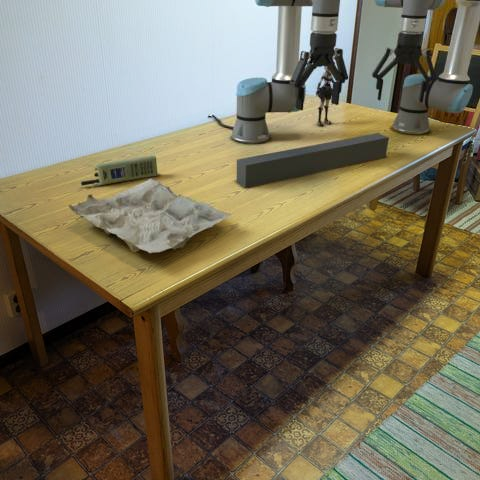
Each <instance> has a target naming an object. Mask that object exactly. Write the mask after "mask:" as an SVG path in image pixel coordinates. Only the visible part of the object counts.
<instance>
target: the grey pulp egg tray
mask: <svg viewBox="0 0 480 480" xmlns="http://www.w3.org/2000/svg"><path fill="white" fill-rule="evenodd" d="M68 208H69V209H70V210H71V211H72V213H74V214H75V215H78V216H79V218H80V219H83V218H85V219H86V220H87V221H89V222H91V223H92V224H93V225H94V226H95V227H96V228H98V229H101V230H103V231H104V232H105V233H106V234H107V235H108V236H110V235H111V234H113V235H116V236H117V237H118V238H120V239H121V240H123V241H124V243H125V244H127V246H128V248H129V249H130V251H131V252H132V253H133V252H134V253H136V252H139V251H141V250H142V251H145V252H147V253H149V254H152V253H162V252H164V251H166V250H169V249H173V250H177V249H178V248H181V249H182V248H184V247H185V245H186V243H187V242H188V241H190V239H191V238H192V237H193V236H194V235H196V234H199V233H200V232H202V231H204V230H206V229H208V228H213V226H215V224H219V222H222V221H223V220H224V219H226V218H229V217H230V216H232V213H227V212H226V211H225V212H224V211H222V210H219V209H216V208H214V207H213V206H212V205H211V204H210V203H205V202H204V201H196V200H194V199H192V198H189V196H184V195H181V194H178V195H177V194H175V193H174V192H173V190H172V189H171V188H170V186H167V185H163V184H162V183H161V182H160V181H159V180H156V179H153V178H149V179H147V180H145V181H143V182H141V183H139V184H136V185H134V186H133V187H130V188H129V189H125V190H123V191H121V192H120V193H117V194H115V195H113V196H111V197H109V198H101V199H99V198H96V197H94V196H93V194H88V195H87V197H86V200H85V201H82V202H80V201H79V202H78V203H77V205H72V204H68Z"/></svg>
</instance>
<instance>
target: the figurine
mask: <svg viewBox="0 0 480 480" xmlns="http://www.w3.org/2000/svg"><path fill="white" fill-rule="evenodd" d="M332 59H333V61H335V57H334V56H333V58H332ZM323 69H324V70H325V71H324V72H323V73H322V75H321V77H320V80H319V82H318V83H317V87H316V92H315V97H317V98H319V99H320V104H319V106H318V107H317V109H318V119H317V121H316V122H317V125H318V126H319V127H324V124H325V123H326V124H327V125H331V124H332V120H331V121H330V120H329V119H328V113H329V108H330V105H329V104H330V102H331V98H332V88H333V85H331V83H332V84H333V82H336V80H335V79H334V77H333V75H332V74H331V72H330V70H329V69H328V67H327V66H323ZM323 81H324V83H323V85H322V82H323ZM321 85H322V86H321ZM333 105H334V104H332V103H331V106H333ZM323 111H324V121H323V122H322V112H323Z"/></svg>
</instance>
